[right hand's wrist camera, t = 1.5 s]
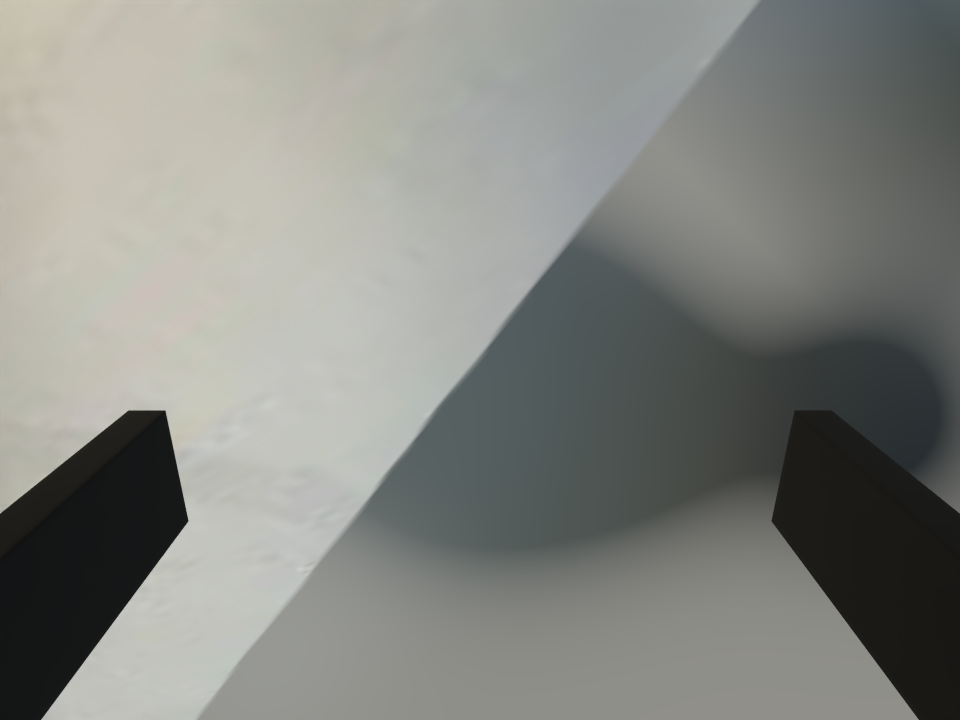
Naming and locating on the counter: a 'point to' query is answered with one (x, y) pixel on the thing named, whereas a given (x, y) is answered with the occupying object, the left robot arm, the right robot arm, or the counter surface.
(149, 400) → the counter surface
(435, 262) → the counter surface
